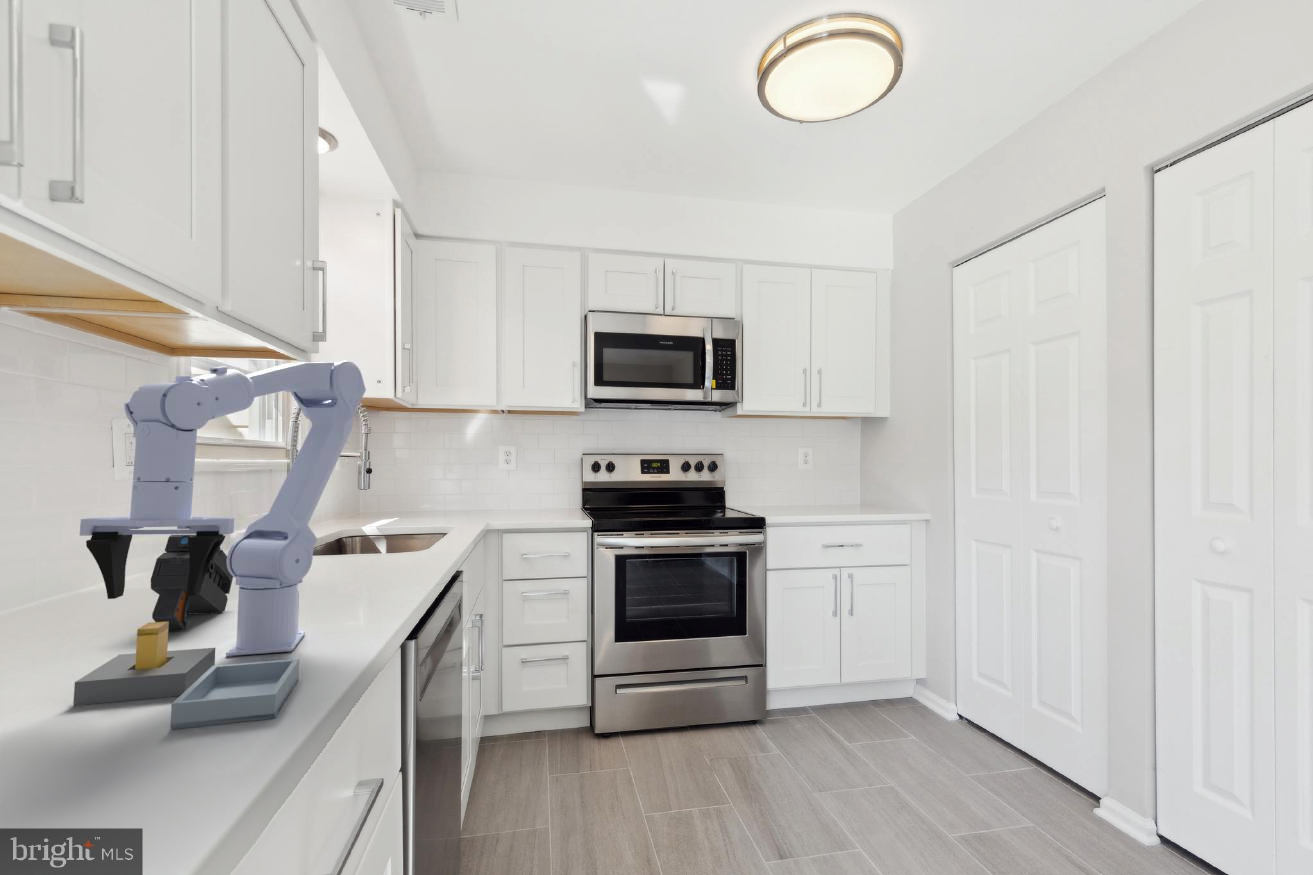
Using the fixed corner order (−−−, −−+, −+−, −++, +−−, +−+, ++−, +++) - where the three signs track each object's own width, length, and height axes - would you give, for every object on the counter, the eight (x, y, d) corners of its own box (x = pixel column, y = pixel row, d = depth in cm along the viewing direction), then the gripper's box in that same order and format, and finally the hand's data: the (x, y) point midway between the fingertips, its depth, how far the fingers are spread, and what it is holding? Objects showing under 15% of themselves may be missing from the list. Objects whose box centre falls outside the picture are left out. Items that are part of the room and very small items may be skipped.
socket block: (118, 674, 75) (119, 654, 75) (214, 667, 79) (215, 647, 79) (73, 705, 66) (74, 681, 66) (184, 695, 69) (185, 672, 69)
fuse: (145, 681, 73) (148, 622, 74) (165, 679, 74) (168, 621, 74) (133, 690, 70) (137, 629, 71) (154, 688, 71) (158, 627, 71)
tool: (133, 621, 89) (163, 526, 97) (182, 653, 105) (205, 569, 112) (182, 619, 91) (208, 526, 99) (223, 650, 106) (243, 568, 114)
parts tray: (211, 687, 72) (212, 665, 72) (298, 679, 75) (299, 658, 75) (170, 729, 61) (171, 703, 61) (274, 718, 64) (275, 693, 64)
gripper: (69, 480, 67) (58, 605, 66) (224, 483, 72) (216, 599, 71) (101, 479, 74) (92, 593, 73) (241, 482, 79) (234, 588, 78)
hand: (155, 595), depth 73 cm, fingers open, 7 cm apart
